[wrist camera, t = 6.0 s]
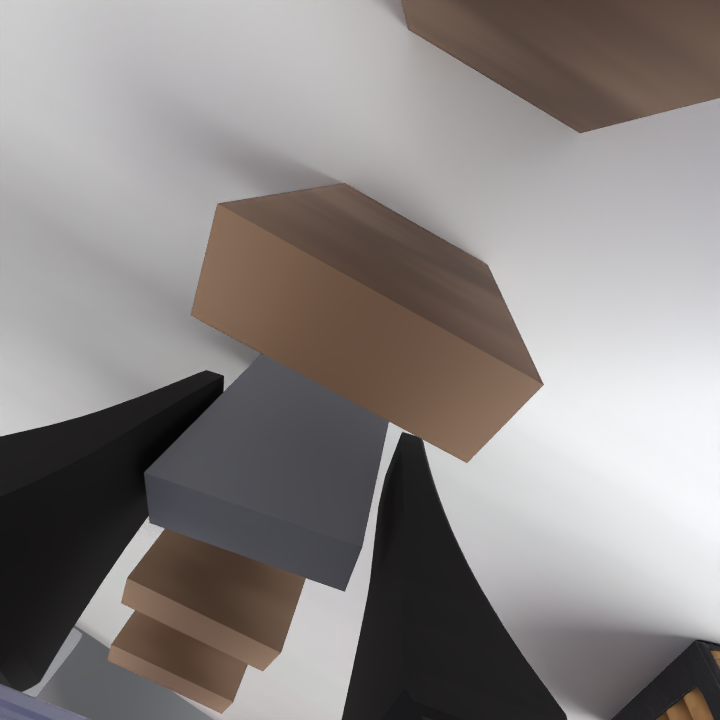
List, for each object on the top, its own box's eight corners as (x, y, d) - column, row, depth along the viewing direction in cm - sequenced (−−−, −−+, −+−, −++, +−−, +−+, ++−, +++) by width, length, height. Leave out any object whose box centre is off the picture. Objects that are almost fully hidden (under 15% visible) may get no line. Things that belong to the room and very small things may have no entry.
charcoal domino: (397, 379, 14) (362, 547, 7) (385, 415, 14) (344, 591, 8) (274, 341, 14) (143, 472, 8) (270, 378, 15) (149, 522, 9)
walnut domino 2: (298, 536, 19) (232, 702, 13) (287, 551, 20) (221, 713, 14) (215, 494, 19) (111, 644, 13) (208, 511, 20) (107, 660, 14)
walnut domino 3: (487, 265, 11) (543, 384, 5) (454, 312, 12) (466, 462, 6) (344, 183, 11) (218, 203, 5) (321, 238, 12) (190, 315, 6)
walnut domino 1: (339, 476, 17) (280, 652, 11) (324, 497, 18) (262, 671, 11) (243, 426, 16) (126, 578, 10) (233, 450, 17) (121, 602, 11)
